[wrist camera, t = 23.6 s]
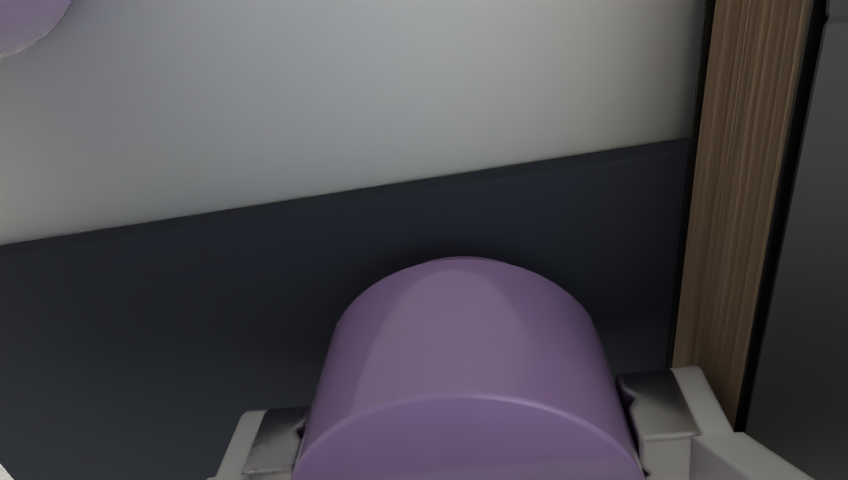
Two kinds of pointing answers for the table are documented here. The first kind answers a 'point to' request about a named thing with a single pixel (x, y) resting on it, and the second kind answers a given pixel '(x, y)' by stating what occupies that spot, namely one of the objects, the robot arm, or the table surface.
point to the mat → (299, 301)
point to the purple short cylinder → (27, 22)
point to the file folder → (770, 227)
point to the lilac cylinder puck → (466, 383)
